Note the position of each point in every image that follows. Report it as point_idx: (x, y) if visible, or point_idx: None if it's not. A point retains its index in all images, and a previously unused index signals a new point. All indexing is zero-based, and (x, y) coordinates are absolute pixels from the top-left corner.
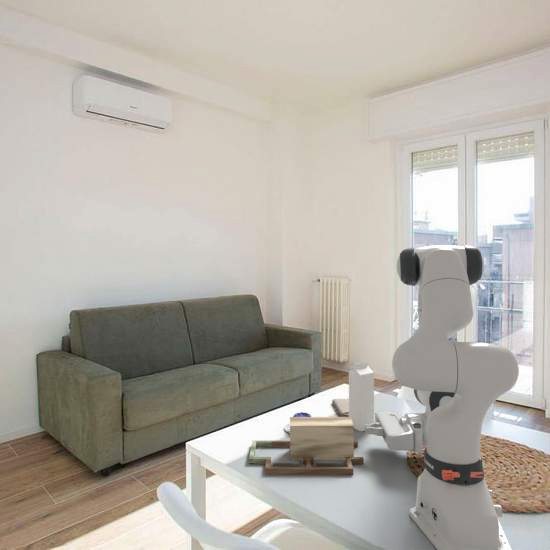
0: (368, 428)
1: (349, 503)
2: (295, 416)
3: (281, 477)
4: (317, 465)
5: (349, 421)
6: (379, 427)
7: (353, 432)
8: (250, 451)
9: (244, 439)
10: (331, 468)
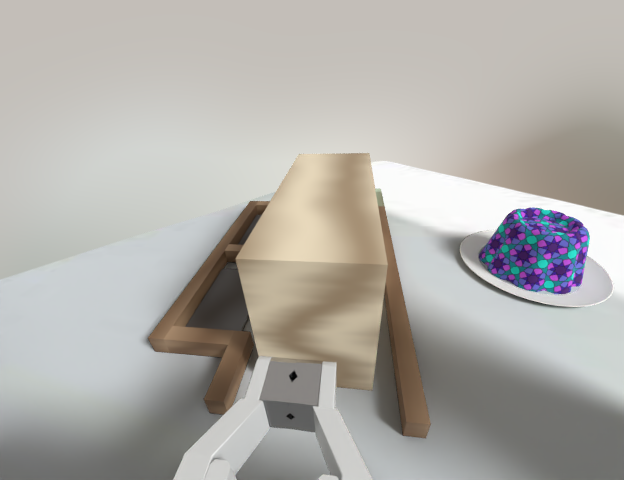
0: (253, 371)
1: (31, 311)
2: (518, 209)
3: (230, 225)
4: None
5: (307, 252)
6: (211, 477)
7: (242, 288)
8: None
9: (407, 190)
10: (191, 284)
